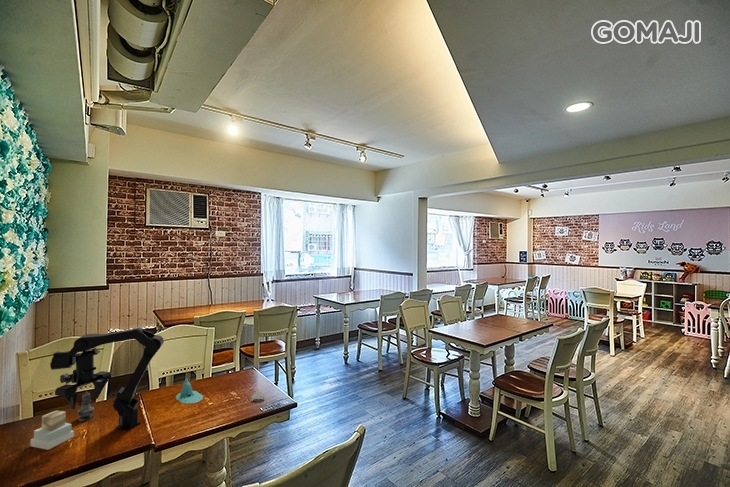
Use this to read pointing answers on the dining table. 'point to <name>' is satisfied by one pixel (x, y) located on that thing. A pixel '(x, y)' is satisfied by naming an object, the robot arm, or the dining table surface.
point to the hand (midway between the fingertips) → (85, 403)
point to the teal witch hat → (188, 394)
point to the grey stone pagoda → (85, 408)
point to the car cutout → (258, 395)
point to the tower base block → (52, 443)
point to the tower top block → (52, 433)
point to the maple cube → (53, 420)
